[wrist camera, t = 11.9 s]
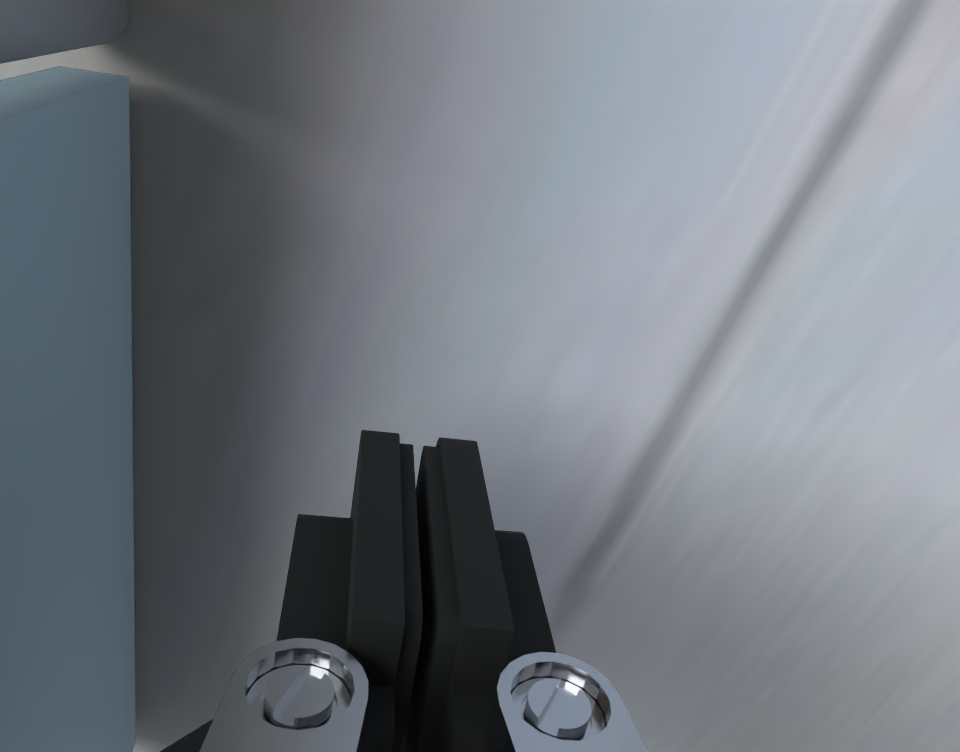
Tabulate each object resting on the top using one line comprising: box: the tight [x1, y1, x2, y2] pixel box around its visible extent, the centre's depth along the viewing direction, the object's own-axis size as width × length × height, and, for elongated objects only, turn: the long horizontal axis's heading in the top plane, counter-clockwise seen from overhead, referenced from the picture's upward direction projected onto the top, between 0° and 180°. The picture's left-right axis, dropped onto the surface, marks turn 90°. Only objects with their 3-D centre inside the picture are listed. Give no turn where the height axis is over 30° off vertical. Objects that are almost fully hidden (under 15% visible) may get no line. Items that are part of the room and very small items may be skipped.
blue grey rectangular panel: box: [0, 0, 136, 752], centre depth 12 cm, size 1×15×6 cm, turn 171°
